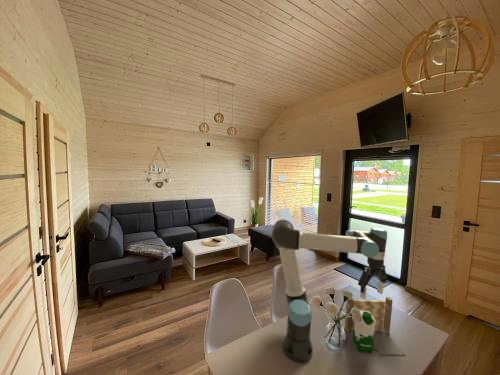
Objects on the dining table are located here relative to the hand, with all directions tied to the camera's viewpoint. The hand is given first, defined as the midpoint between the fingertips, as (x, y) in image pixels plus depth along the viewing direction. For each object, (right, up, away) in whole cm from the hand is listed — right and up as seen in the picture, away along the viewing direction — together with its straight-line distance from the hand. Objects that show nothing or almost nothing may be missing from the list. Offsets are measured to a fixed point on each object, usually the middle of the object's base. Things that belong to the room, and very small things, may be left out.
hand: (371, 295), depth 115 cm
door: (+3, -25, +9) cm, 27 cm away
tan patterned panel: (+3, -26, +10) cm, 28 cm away
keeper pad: (+7, -27, 0) cm, 28 cm away
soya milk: (-6, -27, -2) cm, 27 cm away
